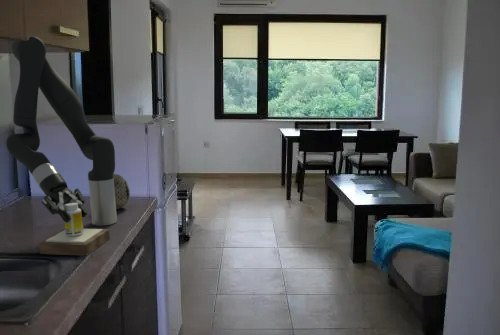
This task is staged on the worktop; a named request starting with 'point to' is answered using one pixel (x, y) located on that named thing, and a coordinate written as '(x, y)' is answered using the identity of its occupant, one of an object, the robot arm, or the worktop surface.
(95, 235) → the walnut stand
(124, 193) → the decorative egg
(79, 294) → the worktop surface
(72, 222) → the supplement bottle
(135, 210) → the worktop surface
